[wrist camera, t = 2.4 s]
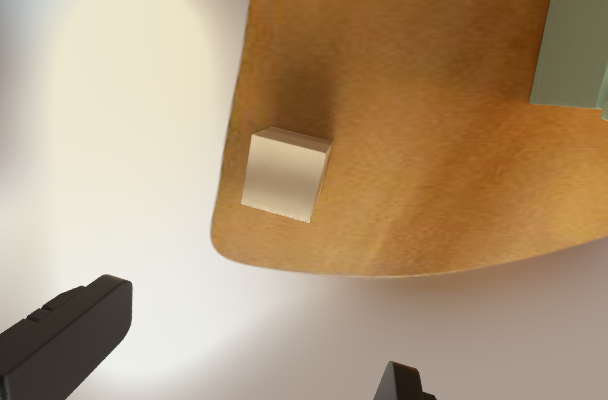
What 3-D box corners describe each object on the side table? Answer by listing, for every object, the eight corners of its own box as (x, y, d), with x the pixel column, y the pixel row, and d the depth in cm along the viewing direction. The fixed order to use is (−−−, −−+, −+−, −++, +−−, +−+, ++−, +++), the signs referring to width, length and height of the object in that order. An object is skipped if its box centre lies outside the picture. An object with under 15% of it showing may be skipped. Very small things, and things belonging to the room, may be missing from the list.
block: (272, 126, 26) (251, 134, 21) (333, 141, 25) (326, 153, 20) (261, 184, 27) (240, 204, 23) (318, 200, 27) (309, 223, 22)
